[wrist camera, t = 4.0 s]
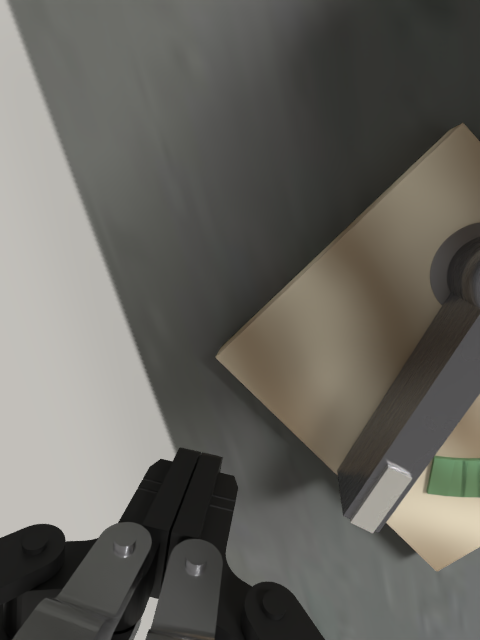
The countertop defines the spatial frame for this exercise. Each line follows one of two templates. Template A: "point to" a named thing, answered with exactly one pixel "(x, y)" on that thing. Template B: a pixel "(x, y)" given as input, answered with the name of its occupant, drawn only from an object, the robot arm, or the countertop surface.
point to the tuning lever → (418, 403)
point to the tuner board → (377, 338)
